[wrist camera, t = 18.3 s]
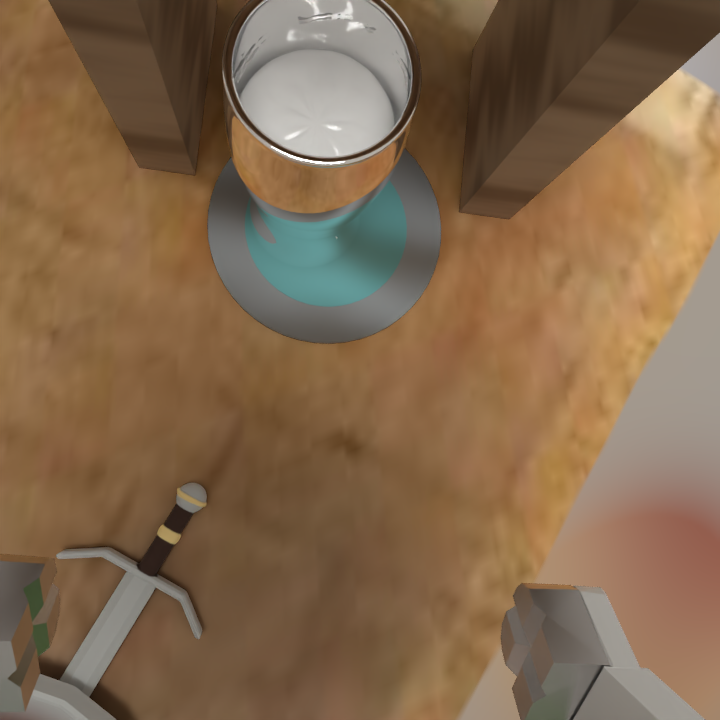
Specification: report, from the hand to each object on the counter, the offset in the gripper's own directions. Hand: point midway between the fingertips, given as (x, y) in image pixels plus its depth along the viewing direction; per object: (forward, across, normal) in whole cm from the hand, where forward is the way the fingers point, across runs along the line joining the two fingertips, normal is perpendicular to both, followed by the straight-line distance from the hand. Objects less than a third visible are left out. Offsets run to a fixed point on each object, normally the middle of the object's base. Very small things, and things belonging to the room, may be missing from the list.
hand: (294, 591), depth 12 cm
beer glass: (+27, 0, +3) cm, 28 cm away
